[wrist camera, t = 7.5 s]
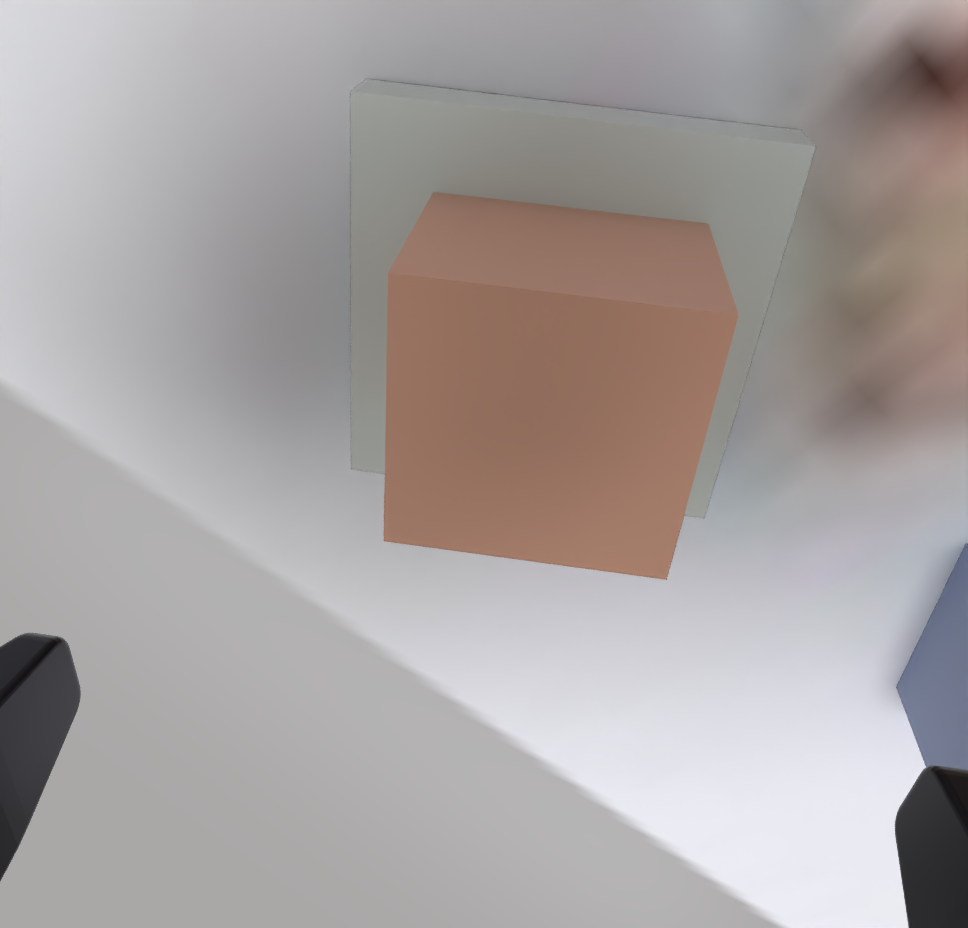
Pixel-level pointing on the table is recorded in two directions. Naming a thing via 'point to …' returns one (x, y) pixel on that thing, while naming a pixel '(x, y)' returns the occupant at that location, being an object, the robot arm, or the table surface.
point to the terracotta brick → (550, 381)
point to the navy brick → (941, 677)
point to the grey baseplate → (566, 183)
